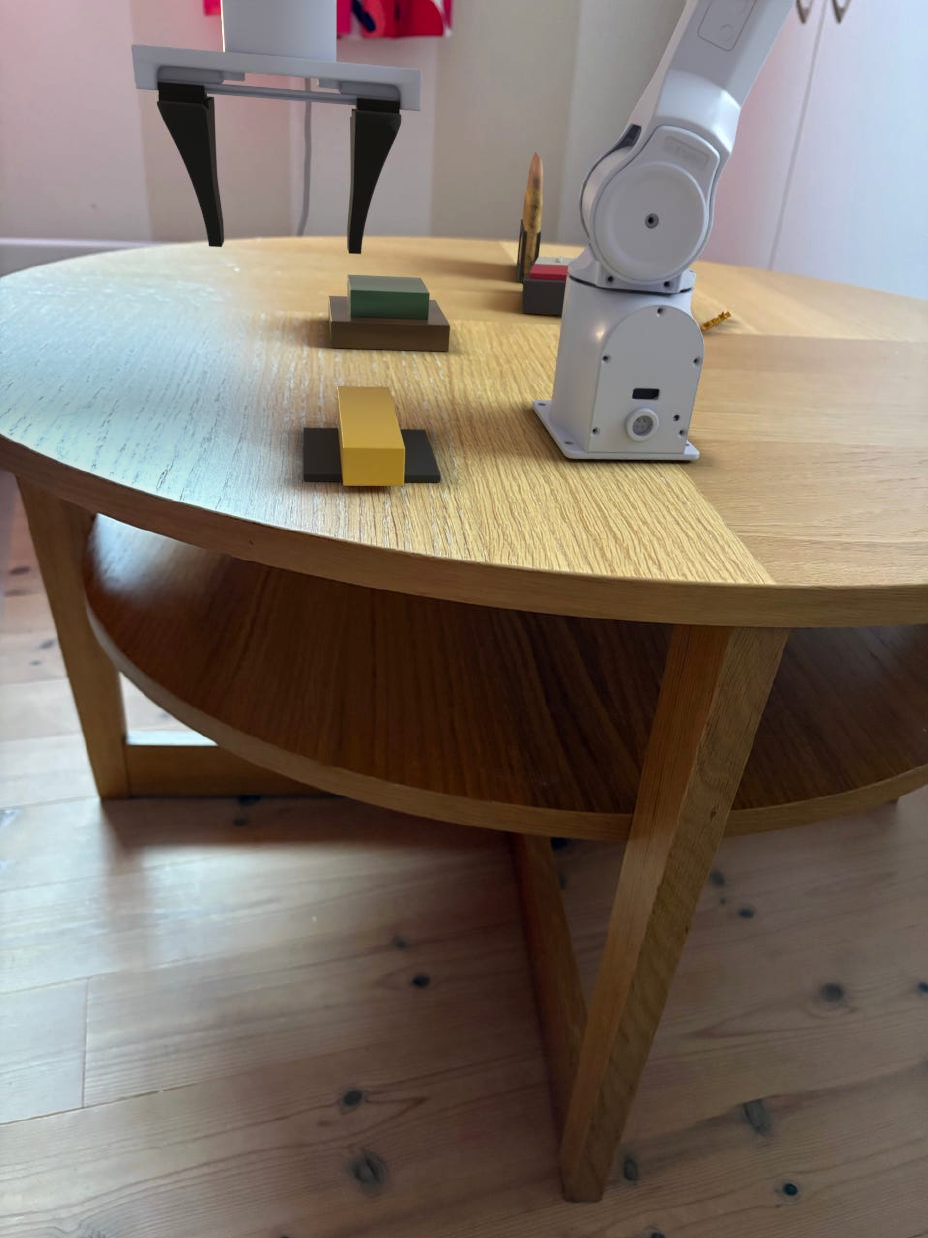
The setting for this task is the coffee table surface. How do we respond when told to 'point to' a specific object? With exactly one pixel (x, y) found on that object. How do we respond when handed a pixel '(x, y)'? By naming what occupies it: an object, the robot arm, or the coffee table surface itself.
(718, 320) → the keychain
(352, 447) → the bar
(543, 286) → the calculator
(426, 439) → the mat
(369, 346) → the stepped green brown block
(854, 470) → the coffee table surface
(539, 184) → the ammunition clip
